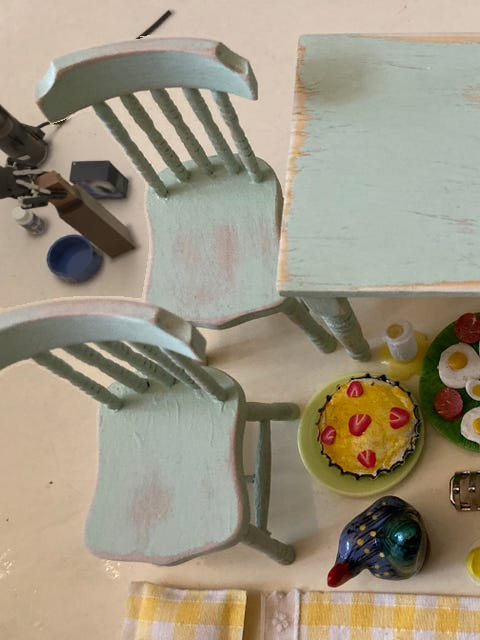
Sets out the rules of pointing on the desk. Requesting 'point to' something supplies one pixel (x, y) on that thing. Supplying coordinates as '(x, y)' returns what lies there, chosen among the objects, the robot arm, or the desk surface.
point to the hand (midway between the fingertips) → (62, 186)
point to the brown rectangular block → (98, 225)
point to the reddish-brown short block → (58, 183)
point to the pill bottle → (28, 220)
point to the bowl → (74, 258)
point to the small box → (99, 179)
